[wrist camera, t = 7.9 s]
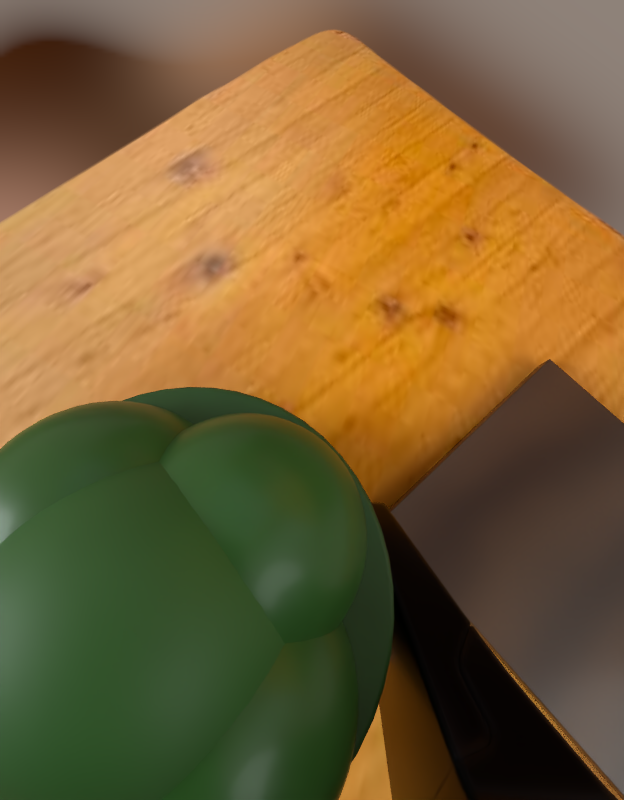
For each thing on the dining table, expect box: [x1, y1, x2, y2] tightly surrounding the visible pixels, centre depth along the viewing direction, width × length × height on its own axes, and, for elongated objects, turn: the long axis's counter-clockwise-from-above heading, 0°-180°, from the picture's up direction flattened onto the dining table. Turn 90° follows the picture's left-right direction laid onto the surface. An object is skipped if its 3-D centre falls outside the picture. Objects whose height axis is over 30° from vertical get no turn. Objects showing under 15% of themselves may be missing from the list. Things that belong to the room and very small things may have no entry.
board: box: [389, 359, 624, 800], centre depth 20 cm, size 22×15×1 cm
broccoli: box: [0, 387, 394, 800], centre depth 9 cm, size 7×7×13 cm
